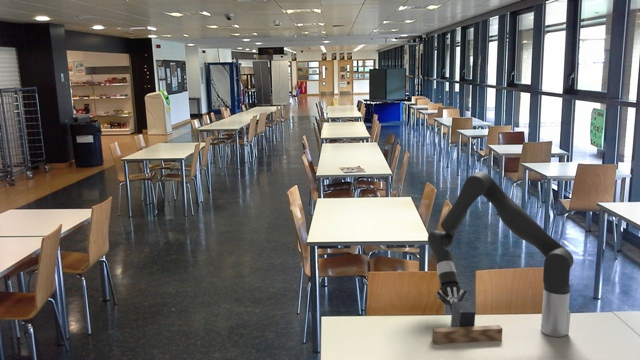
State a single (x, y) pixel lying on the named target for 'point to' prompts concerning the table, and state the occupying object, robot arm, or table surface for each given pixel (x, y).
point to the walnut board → (467, 334)
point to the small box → (462, 315)
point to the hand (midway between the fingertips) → (455, 314)
